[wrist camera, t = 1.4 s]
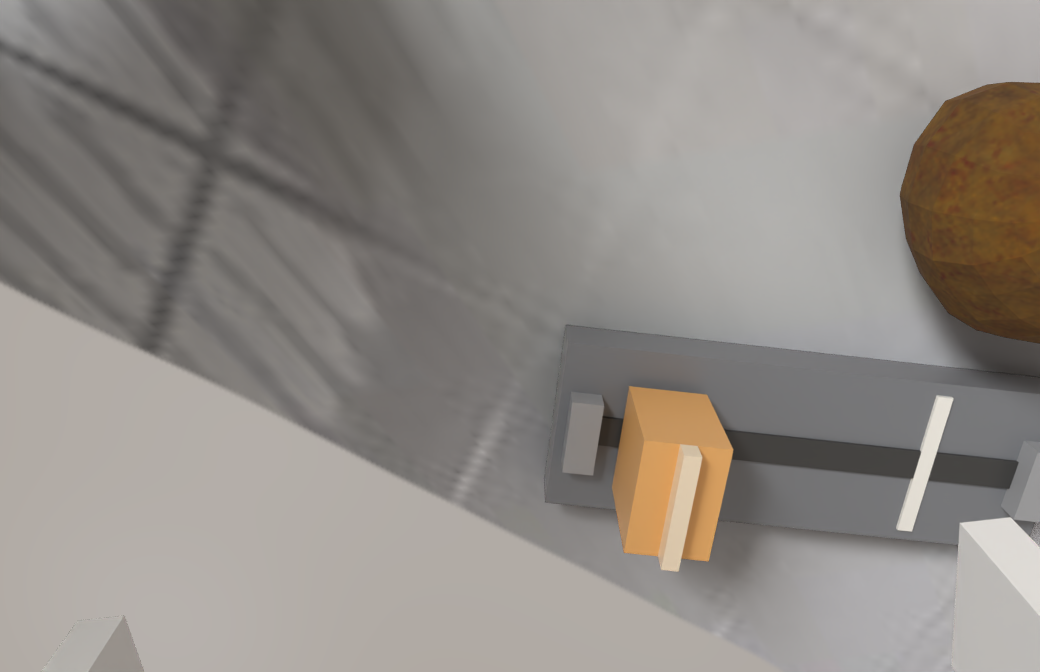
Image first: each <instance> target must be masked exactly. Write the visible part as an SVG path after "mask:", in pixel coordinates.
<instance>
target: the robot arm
mask: <svg viewBox="0 0 1040 672" xmlns="http://www.w3.org/2000/svg"><path fill="white" fill-rule="evenodd" d="M951 666H952V668H953V669H954V671H955V672H1040V547H1039V546H1038V545H1037V544H1036V543H1035V542H1034V541H1033V540H1032V539H1031V538H1030V537H1029V536H1028V535H1027V534H1026V533H1025V532H1024V531H1023V530H1022V528H1021V527H1020V526H1019V525H1018V524H1017V523H1016V522H1015V521H1014V520H1013V519H1012V518H1011V517H1008V518H999V519H990V520H981V521H972V522H963V523H960V526H959V543H958V561H957V578H956V595H955V612H954V629H953V646H952V663H951ZM42 672H144V670H143V667H142V664H141V661H140V659H139V656H138V653H137V650H136V647H135V644H134V642H133V639H132V636H131V633H130V631H129V628H128V625H127V622H126V619H125V617H124V616H117V617H106V618H98V619H89V620H80V621H77V622H76V624H75V625H74V626H73V628H72V629H71V631H70V632H69V633H68V635H67V636H66V638H65V639H64V640H63V642H62V643H61V645H60V646H59V648H58V649H57V650H56V652H55V653H54V655H53V656H52V657H51V659H50V660H49V662H48V663H47V664H46V666H45V667H44V668H43V670H42Z"/></svg>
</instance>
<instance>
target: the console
mask: <svg viewBox="0 0 1040 672" xmlns="http://www.w3.org/2000/svg"><path fill="white" fill-rule="evenodd" d="M629 386H632V387H641V388H651V389H660V390H669V391H678V392H688V393H697V394H706V395H708V398H709V400H710V402H711V404H712V406H713V408H714V410H715V412H716V414H717V416H718V418H719V421H720V423H721V425H722V427H723V429H724V431H725V433H726V435H727V437H728V439H729V441H730V444H731V446H732V448H733V454H732V459H731V463H730V468H729V472H728V477H727V481H726V486H725V490H724V495H723V499H722V504H721V508H720V513H719V517H718V520H720V521H730V522H739V523H749V524H759V525H768V526H778V527H788V528H797V529H807V530H817V531H826V532H836V533H846V534H855V535H865V536H875V537H884V538H894V539H904V540H914V541H923V542H933V543H943V544H952V545H958V543H959V526H960V523H963V522H972V521H981V520H990V519H999V518H1008V517H1011V518H1012V519H1013V520H1014V521H1015V522H1016V523H1017V524H1018V525H1019V526H1020V527H1021V528H1022V530H1023V531H1024V532H1025V533H1026V534H1027V535H1028V536H1030V534H1031V531H1032V528H1033V526H1034V523H1035V522H1040V377H1033V376H1024V375H1015V374H1006V373H996V372H987V371H978V370H969V369H960V368H951V367H942V366H933V365H924V364H915V363H906V362H897V361H888V360H879V359H869V358H860V357H851V356H842V355H833V354H824V353H815V352H806V351H797V350H788V349H779V348H770V347H761V346H752V345H742V344H733V343H724V342H715V341H706V340H697V339H688V338H679V337H670V336H661V335H652V334H643V333H634V332H625V331H615V330H606V329H597V328H588V327H579V326H570V325H566V326H565V333H564V341H563V348H562V355H561V362H560V369H559V376H558V383H557V390H556V397H555V405H554V412H553V419H552V426H551V433H550V440H549V447H548V454H547V461H546V468H545V476H544V486H545V502H546V503H555V504H565V505H575V506H584V507H594V508H604V509H613V510H616V507H615V502H614V496H613V491H612V484H613V478H614V472H615V466H616V460H617V454H618V449H619V443H620V437H621V431H622V425H623V420H624V414H625V408H626V402H627V396H628V390H629Z"/></svg>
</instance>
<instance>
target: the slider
mask: <svg viewBox="0 0 1040 672" xmlns="http://www.w3.org/2000/svg"><path fill="white" fill-rule="evenodd" d="M732 454H733V448H732V446H731V444H730V441H729V439H728V437H727V435H726V433H725V431H724V429H723V427H722V425H721V423H720V421H719V418H718V416H717V414H716V412H715V410H714V408H713V406H712V404H711V402H710V400H709V398H708V395H706V394H697V393H688V392H678V391H669V390H660V389H651V388H641V387H632V386H629V390H628V396H627V402H626V408H625V414H624V420H623V425H622V431H621V437H620V443H619V449H618V454H617V460H616V466H615V472H614V478H613V484H612V491H613V496H614V502H615V507H616V513H617V518H618V524H619V529H620V534H621V540H622V545H623V551H624V553H631V554H641V555H651V556H658V559H659V563H660V567H661V570H667V571H677V572H679V567H680V562H681V559H690V560H700V561H709V557H710V553H711V548H712V544H713V540H714V535H715V531H716V526H717V522H718V517H719V513H720V508H721V504H722V499H723V495H724V490H725V486H726V481H727V477H728V472H729V468H730V463H731V459H732Z"/></svg>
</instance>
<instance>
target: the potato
mask: <svg viewBox="0 0 1040 672" xmlns="http://www.w3.org/2000/svg"><path fill="white" fill-rule="evenodd" d="M900 200H901V207H902V214H903V221H904V228H905V235H906V240H907V242H908V245H909V247H910V249H911V252H912V254H913V257H914V259H915V262H916V264H917V267H918V269H919V272H920V274H921V275H922V276H923V278H924V279H925V281H926V282H927V284H928V285H929V287H930V288H931V289H932V291H933V292H934V294H935V295H936V296H937V298H938V299H939V301H940V302H941V303H942V305H943V306H944V308H945V309H946V310H947V312H948V313H949V314H951V315H952V316H954V317H956V318H957V319H959V320H961V321H962V322H964V323H966V324H967V325H969V326H970V327H972V328H974V329H975V330H978V331H982V332H986V333H990V334H994V335H998V336H1002V337H1006V338H1011V339H1017V340H1023V341H1029V342H1035V343H1040V83H1024V82H1005V83H997V84H988V85H985V86H982V87H980V88H977V89H975V90H972V91H970V92H967V93H965V94H962V95H960V96H957V97H954V98H952V99H949V100H947V101H945V102H944V103H943V105H942V106H941V108H940V109H939V110H938V112H937V113H936V115H935V116H934V117H933V119H932V120H931V122H930V123H929V124H928V126H927V127H926V129H925V130H924V131H923V133H922V134H921V136H920V137H919V138H918V140H917V141H916V143H915V144H914V146H913V150H912V153H911V157H910V160H909V163H908V167H907V170H906V174H905V177H904V181H903V184H902V187H901V191H900Z"/></svg>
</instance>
